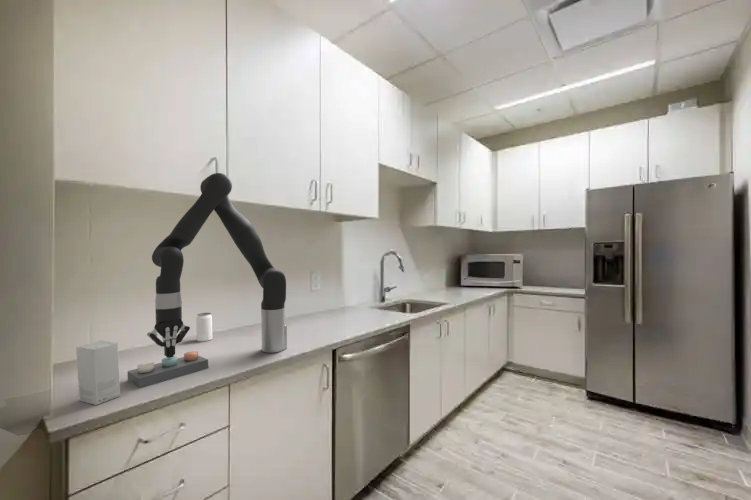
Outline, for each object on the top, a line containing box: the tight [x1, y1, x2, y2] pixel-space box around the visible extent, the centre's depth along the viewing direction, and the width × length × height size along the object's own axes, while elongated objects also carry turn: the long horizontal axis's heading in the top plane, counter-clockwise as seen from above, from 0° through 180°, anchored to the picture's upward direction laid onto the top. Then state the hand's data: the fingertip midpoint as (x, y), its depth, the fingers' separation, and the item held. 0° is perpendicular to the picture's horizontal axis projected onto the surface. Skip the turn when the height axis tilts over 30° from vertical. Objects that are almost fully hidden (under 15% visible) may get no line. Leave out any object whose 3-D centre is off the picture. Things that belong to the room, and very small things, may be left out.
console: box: [127, 355, 209, 389], centre depth 114 cm, size 21×10×3 cm, turn 143°
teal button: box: [161, 356, 178, 367], centre depth 114 cm, size 4×4×2 cm
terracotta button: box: [183, 350, 199, 361], centre depth 120 cm, size 4×4×2 cm
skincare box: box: [75, 340, 121, 406], centre depth 96 cm, size 8×7×16 cm
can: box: [195, 312, 213, 343], centre depth 155 cm, size 6×6×12 cm
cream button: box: [136, 361, 155, 373], centre depth 109 cm, size 4×4×2 cm
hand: (169, 357), depth 114 cm, fingers closed
